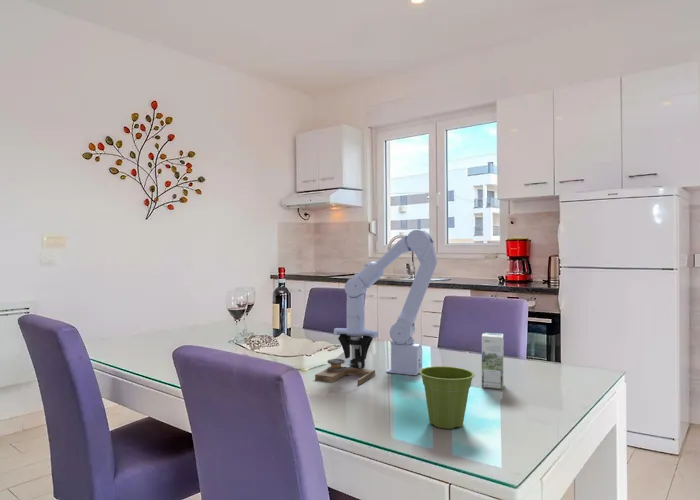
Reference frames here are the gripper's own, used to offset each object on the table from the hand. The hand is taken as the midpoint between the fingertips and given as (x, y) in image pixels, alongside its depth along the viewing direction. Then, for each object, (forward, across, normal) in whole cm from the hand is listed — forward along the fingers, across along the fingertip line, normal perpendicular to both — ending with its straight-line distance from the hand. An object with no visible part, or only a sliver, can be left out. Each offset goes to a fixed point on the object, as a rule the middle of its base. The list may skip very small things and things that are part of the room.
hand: (355, 358), depth 159 cm
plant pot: (+3, +38, -38) cm, 54 cm away
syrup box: (+3, +43, -4) cm, 43 cm away
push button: (+3, 0, 0) cm, 3 cm away
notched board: (+3, +2, -12) cm, 13 cm away
